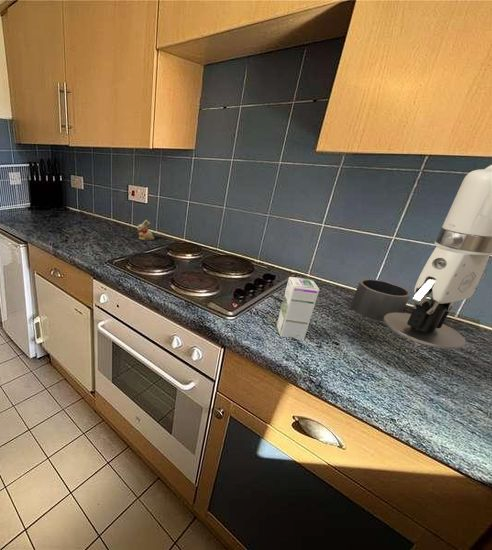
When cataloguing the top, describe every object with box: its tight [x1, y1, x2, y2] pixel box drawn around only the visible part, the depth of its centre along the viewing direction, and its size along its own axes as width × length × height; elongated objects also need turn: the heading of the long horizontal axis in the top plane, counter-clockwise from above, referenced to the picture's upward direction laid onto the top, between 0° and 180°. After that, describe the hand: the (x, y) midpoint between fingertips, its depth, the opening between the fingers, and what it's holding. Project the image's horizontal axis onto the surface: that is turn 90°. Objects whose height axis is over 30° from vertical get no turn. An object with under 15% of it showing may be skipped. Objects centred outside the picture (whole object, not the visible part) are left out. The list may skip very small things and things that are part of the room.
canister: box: [349, 278, 412, 323], centre depth 87 cm, size 11×11×8 cm
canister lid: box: [382, 300, 467, 350], centre depth 61 cm, size 13×13×7 cm
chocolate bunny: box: [136, 219, 155, 241], centre depth 148 cm, size 6×8×10 cm
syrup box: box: [276, 276, 320, 340], centre depth 74 cm, size 6×6×14 cm
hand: (423, 325), depth 62 cm, fingers closed on canister lid, 3 cm apart
